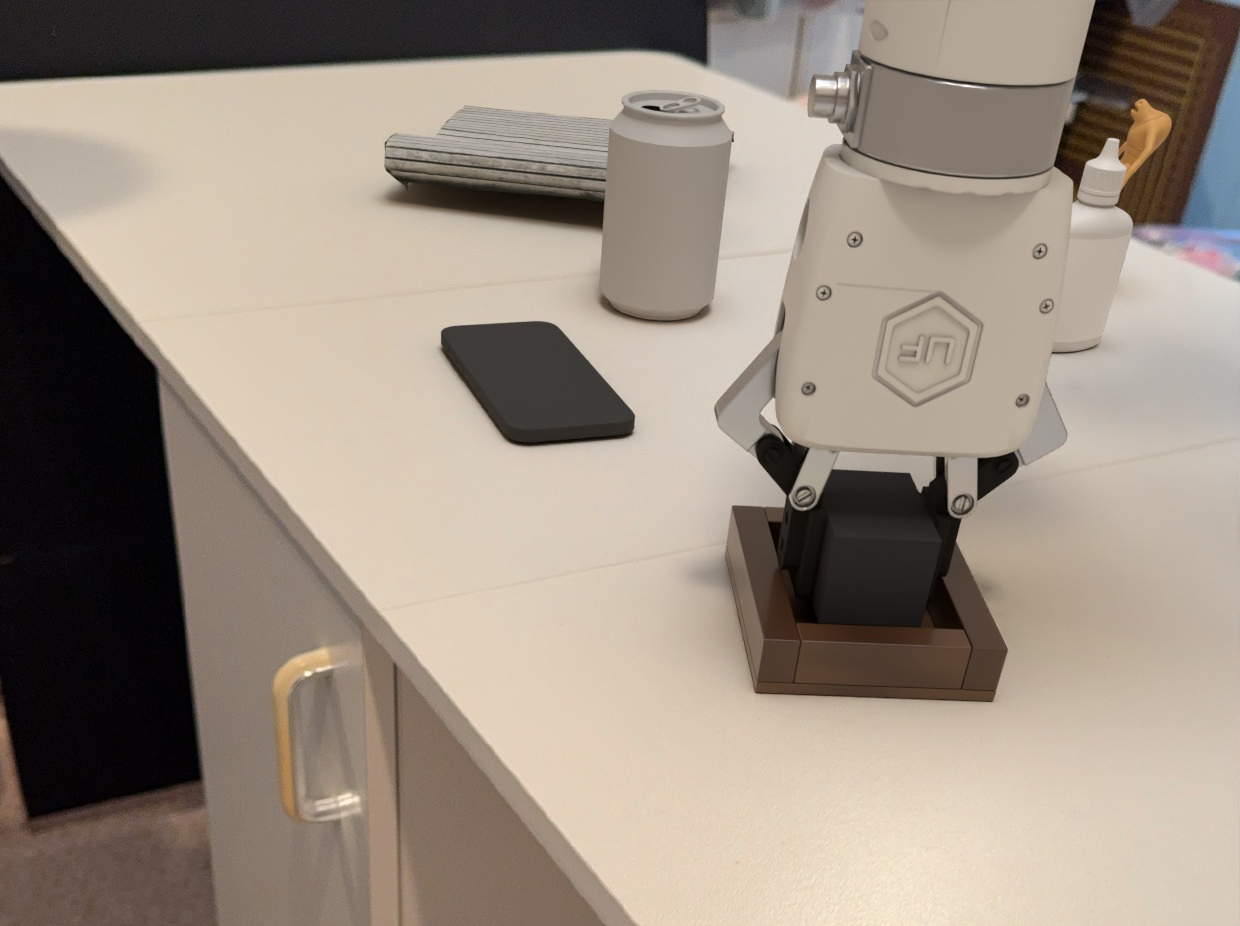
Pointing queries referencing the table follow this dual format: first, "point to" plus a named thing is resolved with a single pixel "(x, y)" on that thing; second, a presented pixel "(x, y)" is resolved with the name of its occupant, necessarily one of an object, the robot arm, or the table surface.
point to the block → (875, 551)
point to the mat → (507, 154)
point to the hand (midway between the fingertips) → (857, 581)
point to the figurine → (1143, 136)
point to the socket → (857, 631)
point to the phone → (536, 382)
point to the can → (664, 204)
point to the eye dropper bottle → (1093, 253)
